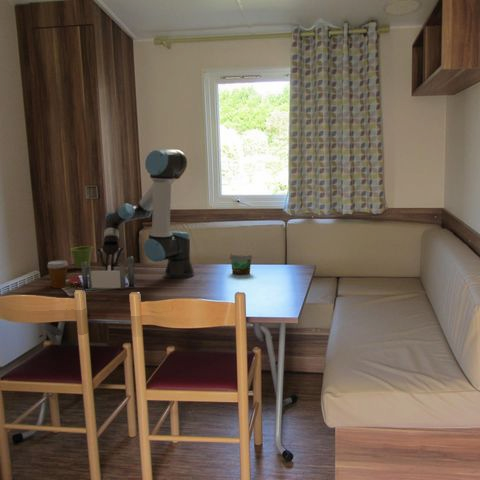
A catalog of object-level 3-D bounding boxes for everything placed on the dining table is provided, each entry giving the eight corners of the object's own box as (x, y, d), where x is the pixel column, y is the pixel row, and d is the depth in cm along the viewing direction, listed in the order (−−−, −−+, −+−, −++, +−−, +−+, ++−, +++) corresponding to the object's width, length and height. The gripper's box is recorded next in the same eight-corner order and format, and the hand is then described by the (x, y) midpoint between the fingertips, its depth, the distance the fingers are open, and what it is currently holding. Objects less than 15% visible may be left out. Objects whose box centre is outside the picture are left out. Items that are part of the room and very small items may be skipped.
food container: (226, 274, 271) (225, 255, 269) (230, 271, 277) (230, 253, 275) (248, 276, 266) (247, 257, 265) (252, 273, 272) (252, 254, 270)
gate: (88, 288, 245) (87, 267, 243) (90, 286, 248) (88, 266, 246) (124, 288, 244) (123, 267, 242) (126, 286, 247) (125, 266, 245)
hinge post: (90, 287, 249) (88, 261, 246) (89, 289, 245) (87, 262, 243) (82, 288, 248) (80, 261, 246) (81, 290, 245) (79, 263, 242)
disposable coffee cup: (63, 289, 247) (61, 264, 245) (44, 288, 249) (42, 264, 247) (73, 284, 256) (71, 260, 254) (55, 283, 258) (53, 259, 256)
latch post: (136, 285, 251) (134, 255, 248) (135, 287, 247) (133, 256, 245) (128, 286, 250) (126, 255, 248) (127, 288, 247) (126, 257, 244)
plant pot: (84, 264, 300) (83, 245, 298) (98, 267, 293) (96, 247, 291) (67, 268, 291) (65, 248, 289) (80, 271, 284) (79, 251, 282)
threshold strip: (127, 286, 250) (127, 285, 250) (126, 288, 247) (126, 287, 247) (91, 288, 248) (91, 287, 248) (90, 289, 245) (90, 289, 245)
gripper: (125, 242, 271) (123, 281, 258) (99, 243, 270) (96, 282, 256) (123, 233, 265) (121, 273, 252) (97, 234, 264) (94, 274, 250)
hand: (109, 277), depth 254 cm, fingers closed
